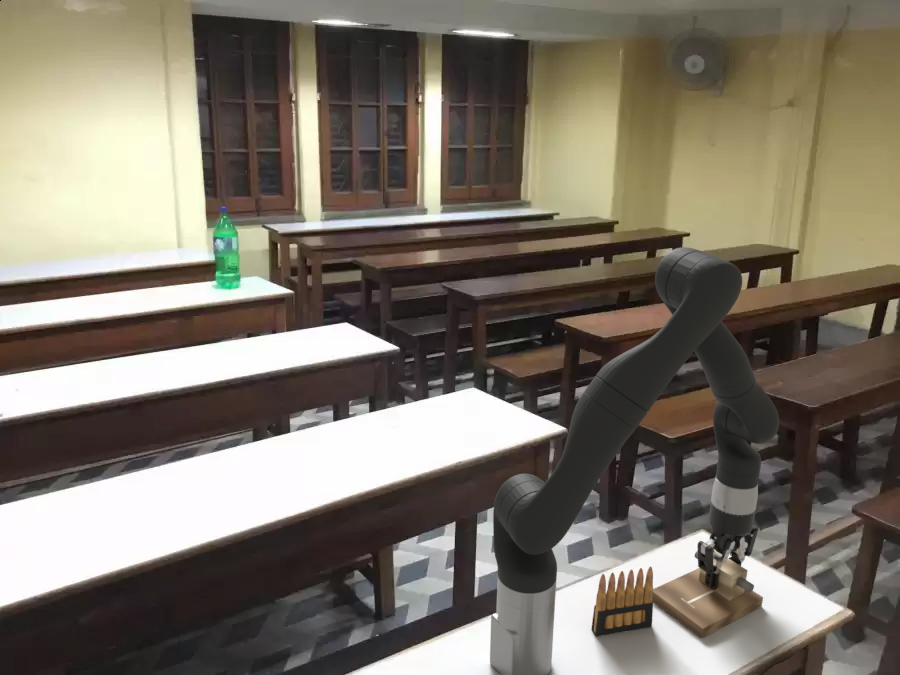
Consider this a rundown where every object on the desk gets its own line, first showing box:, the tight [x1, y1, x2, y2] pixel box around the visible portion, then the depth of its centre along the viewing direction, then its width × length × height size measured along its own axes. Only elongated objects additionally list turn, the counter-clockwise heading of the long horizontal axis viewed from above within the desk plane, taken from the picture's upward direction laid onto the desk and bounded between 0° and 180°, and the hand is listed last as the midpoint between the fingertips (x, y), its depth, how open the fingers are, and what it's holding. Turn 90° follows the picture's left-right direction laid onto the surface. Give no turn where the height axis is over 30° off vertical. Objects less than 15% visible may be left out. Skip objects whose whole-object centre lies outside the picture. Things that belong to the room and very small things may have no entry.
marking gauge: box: [694, 550, 755, 601], centre depth 136 cm, size 4×12×5 cm, turn 31°
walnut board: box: [652, 567, 764, 639], centre depth 135 cm, size 16×12×2 cm
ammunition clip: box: [591, 565, 654, 637], centre depth 127 cm, size 11×2×12 cm, turn 104°
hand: (722, 581), depth 136 cm, fingers open, 5 cm apart
